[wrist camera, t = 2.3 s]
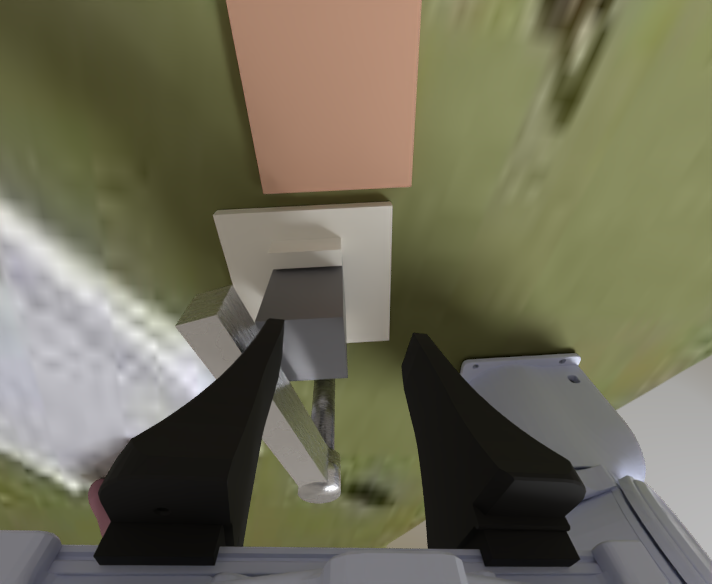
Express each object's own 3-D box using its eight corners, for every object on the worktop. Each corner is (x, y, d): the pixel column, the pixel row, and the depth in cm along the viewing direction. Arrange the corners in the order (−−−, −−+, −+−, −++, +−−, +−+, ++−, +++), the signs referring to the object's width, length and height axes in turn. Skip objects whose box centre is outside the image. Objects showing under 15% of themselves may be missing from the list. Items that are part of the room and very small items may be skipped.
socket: (390, 201, 19) (414, 258, 13) (386, 373, 27) (400, 459, 21) (217, 210, 19) (159, 272, 13) (264, 380, 26) (243, 469, 20)
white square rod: (241, 282, 13) (227, 312, 11) (345, 464, 21) (345, 498, 19) (187, 297, 13) (165, 328, 12) (309, 472, 21) (306, 506, 19)
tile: (418, -8, 14) (422, -13, 13) (408, 182, 18) (411, 186, 18) (230, -1, 14) (224, -5, 13) (266, 190, 18) (263, 194, 17)
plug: (342, 256, 20) (343, 316, 15) (345, 309, 22) (347, 377, 17) (276, 260, 20) (254, 321, 15) (286, 312, 22) (270, 382, 17)
